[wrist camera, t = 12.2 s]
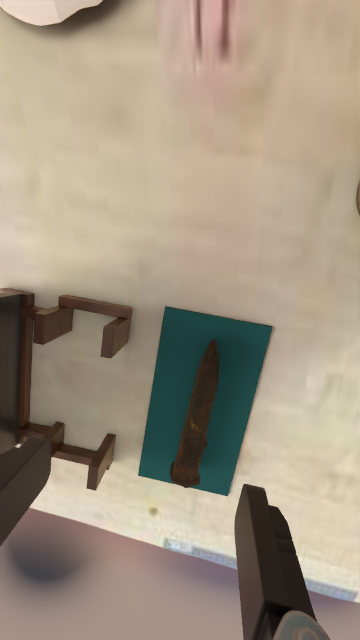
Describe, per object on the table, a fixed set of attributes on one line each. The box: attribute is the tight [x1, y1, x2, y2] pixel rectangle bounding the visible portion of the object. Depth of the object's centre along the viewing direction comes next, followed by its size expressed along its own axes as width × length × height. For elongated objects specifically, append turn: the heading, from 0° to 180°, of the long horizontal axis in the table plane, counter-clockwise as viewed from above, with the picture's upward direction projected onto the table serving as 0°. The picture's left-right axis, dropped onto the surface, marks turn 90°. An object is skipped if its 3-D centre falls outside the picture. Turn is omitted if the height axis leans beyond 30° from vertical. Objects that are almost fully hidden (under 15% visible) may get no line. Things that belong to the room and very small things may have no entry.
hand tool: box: [170, 338, 220, 488], centre depth 32 cm, size 19×4×5 cm, turn 167°
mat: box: [138, 307, 272, 496], centre depth 34 cm, size 13×25×1 cm, turn 170°
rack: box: [0, 288, 132, 490], centre depth 26 cm, size 17×23×20 cm
